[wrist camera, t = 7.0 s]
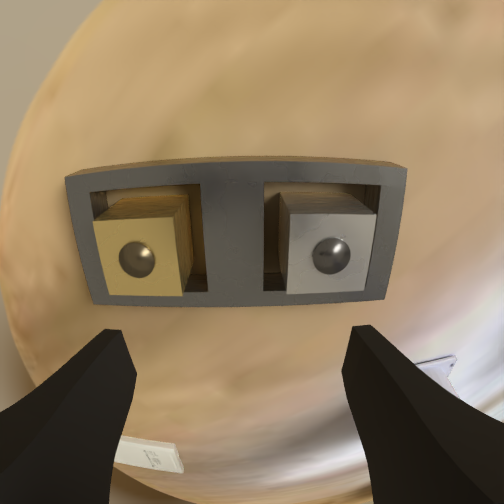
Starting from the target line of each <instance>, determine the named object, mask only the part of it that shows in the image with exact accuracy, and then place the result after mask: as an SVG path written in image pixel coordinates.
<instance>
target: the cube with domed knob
mask: <svg viewBox="0 0 504 504" xmlns="http://www.w3.org/2000/svg"><path fill="white" fill-rule="evenodd" d="M375 223H376V214H375V213H374V212H372V211H371V210H370V209H369V208H367V207H366V206H365V205H364V204H362V203H361V202H360V201H359V200H357V199H356V198H355V197H353V196H352V195H351V194H350V193H325V192H280V209H279V246H278V260H279V264H280V268H281V272H282V277H283V281H284V285H285V290H286V294H307V293H329V292H348V291H364V287H365V282H366V277H367V272H368V267H369V261H370V255H371V249H372V243H373V237H374V230H375Z"/></svg>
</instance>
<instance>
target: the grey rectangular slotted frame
mask: <svg viewBox="0 0 504 504" xmlns="http://www.w3.org/2000/svg"><path fill="white" fill-rule="evenodd" d="M406 178H407V168H405V167H402V166H400V165H397V164H394V163H392V162H384V161H373V160H361V159H346V158H329V157H303V156H229V157H204V158H186V159H172V160H159V161H148V162H138V163H129V164H120V165H112V166H104V167H97V168H90V169H83V170H80V171H78V172H75V173H73V174H70V175H68V176H66V177H65V184H66V190H67V196H68V202H69V208H70V213H71V218H72V223H73V228H74V233H75V237H76V242H77V246H78V250H79V254H80V258H81V262H82V266H83V270H84V273H85V277H86V280H87V284H88V287H89V291H90V294H91V297H92V300H93V303H94V304H100V305H122V306H155V307H251V306H285V305H308V304H327V303H344V302H359V301H372V300H384V299H385V295H386V291H387V287H388V282H389V278H390V274H391V269H392V265H393V260H394V255H395V250H396V245H397V239H398V234H399V228H400V222H401V216H402V209H403V202H404V194H405V186H406ZM264 182H322V183H350V184H366V191H365V201H364V205H365V206H366V207H367V208H369V209H370V210H371V211H372V212H374V213H375V214H376V223H375V230H374V237H373V243H372V249H371V255H370V261H369V267H368V272H367V277H366V282H365V287H364V291H348V292H329V293H307V294H286V290H285V285H284V281H283V277H282V273H263V266H264ZM181 184H200V190H201V206H202V221H203V235H204V248H205V260H206V271H207V274H204V275H189V277H188V281H187V284H186V287H185V290H184V294H183V296H134V295H109V291H108V288H107V284H106V280H105V276H104V272H103V268H102V264H101V260H100V255H99V251H98V246H97V242H96V237H95V232H94V227H93V221H94V220H95V219H96V218H97V217H99V216H100V215H101V214H103V213H104V212H105V211H106V210H108V203H107V196H106V190H114V189H125V188H137V187H150V186H164V185H181Z"/></svg>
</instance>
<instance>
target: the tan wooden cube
mask: <svg viewBox="0 0 504 504" xmlns="http://www.w3.org/2000/svg"><path fill="white" fill-rule="evenodd" d="M93 227H94V232H95V237H96V242H97V246H98V251H99V255H100V260H101V264H102V268H103V272H104V276H105V280H106V284H107V288H108V291H109V295H134V296H183V294H184V290H185V287H186V284H187V281H188V277H189V274H190V271H191V268H192V265H193V262H194V254H193V243H192V232H191V221H190V208H189V194H188V195H168V196H151V197H136V198H123V199H121V200H120V201H118V202H117V203H116V204H114V205H113V206H112V207H110V208H109V209H108V210H106V211H105V212H104V213H103V214H101V215H100V216H99V217H97V218H96V219H95V220H94V221H93Z"/></svg>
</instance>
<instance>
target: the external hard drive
mask: <svg viewBox="0 0 504 504" xmlns="http://www.w3.org/2000/svg"><path fill="white" fill-rule="evenodd" d="M114 462H118V463H123V464H127V465H132V466H137V467H143V468H149V469H155V470H162V471H169V472H176V473H184V467H183V464H182V462H181V459H179V454H178V451H177V448H176V445H175V443H167V442H159V441H153V440H146V439H140V438H135V437H129V436H124V435H121V438H120V441H119V444H118V448H117V451H116V455H115V459H114Z"/></svg>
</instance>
